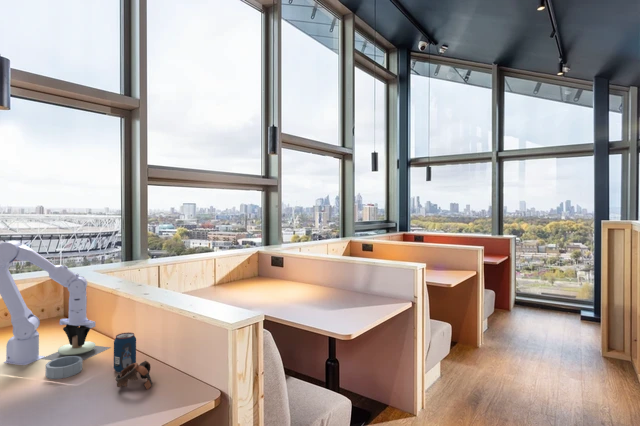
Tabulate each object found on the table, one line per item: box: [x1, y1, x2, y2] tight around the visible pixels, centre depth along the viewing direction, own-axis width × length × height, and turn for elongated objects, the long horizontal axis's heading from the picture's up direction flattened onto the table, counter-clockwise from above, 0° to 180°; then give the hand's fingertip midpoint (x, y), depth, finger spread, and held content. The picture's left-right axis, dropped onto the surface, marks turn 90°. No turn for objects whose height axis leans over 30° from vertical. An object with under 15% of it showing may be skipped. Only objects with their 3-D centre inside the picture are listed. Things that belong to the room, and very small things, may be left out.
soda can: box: [113, 332, 137, 374], centre depth 131 cm, size 7×7×12 cm
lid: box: [57, 335, 96, 355], centre depth 144 cm, size 12×12×5 cm
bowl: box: [44, 356, 83, 380], centre depth 128 cm, size 10×10×4 cm
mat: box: [40, 345, 112, 362], centre depth 144 cm, size 16×16×1 cm
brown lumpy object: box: [114, 360, 153, 391], centre depth 120 cm, size 12×10×8 cm
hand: (77, 344), depth 144 cm, fingers closed on lid, 3 cm apart
